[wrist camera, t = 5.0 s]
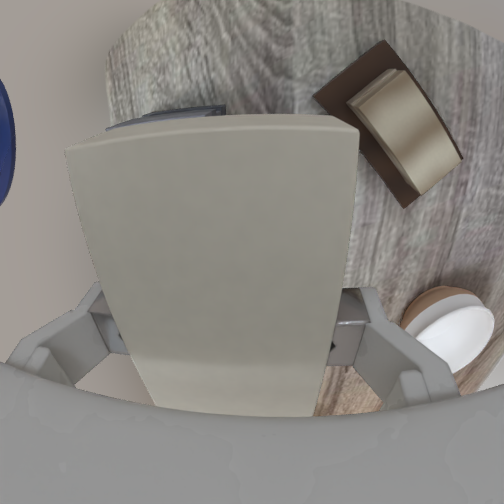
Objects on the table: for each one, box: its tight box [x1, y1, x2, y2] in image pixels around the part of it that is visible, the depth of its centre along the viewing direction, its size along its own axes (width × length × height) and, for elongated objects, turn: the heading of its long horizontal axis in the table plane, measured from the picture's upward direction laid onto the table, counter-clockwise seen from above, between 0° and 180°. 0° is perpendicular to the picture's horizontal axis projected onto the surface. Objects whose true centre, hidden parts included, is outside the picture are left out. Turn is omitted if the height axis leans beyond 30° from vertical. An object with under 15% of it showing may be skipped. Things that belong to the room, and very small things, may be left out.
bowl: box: [399, 286, 494, 374], centre depth 37 cm, size 16×16×8 cm
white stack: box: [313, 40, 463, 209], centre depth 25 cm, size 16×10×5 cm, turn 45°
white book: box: [65, 114, 360, 417], centre depth 9 cm, size 11×6×2 cm, turn 2°
